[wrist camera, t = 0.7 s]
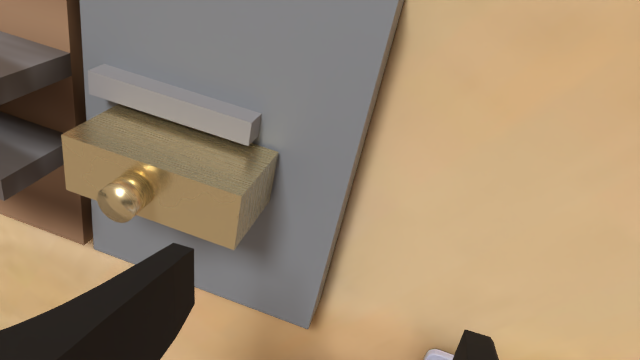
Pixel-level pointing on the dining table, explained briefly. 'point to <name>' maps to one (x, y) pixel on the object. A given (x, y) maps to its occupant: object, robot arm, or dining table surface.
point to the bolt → (168, 174)
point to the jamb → (41, 114)
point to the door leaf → (248, 122)
